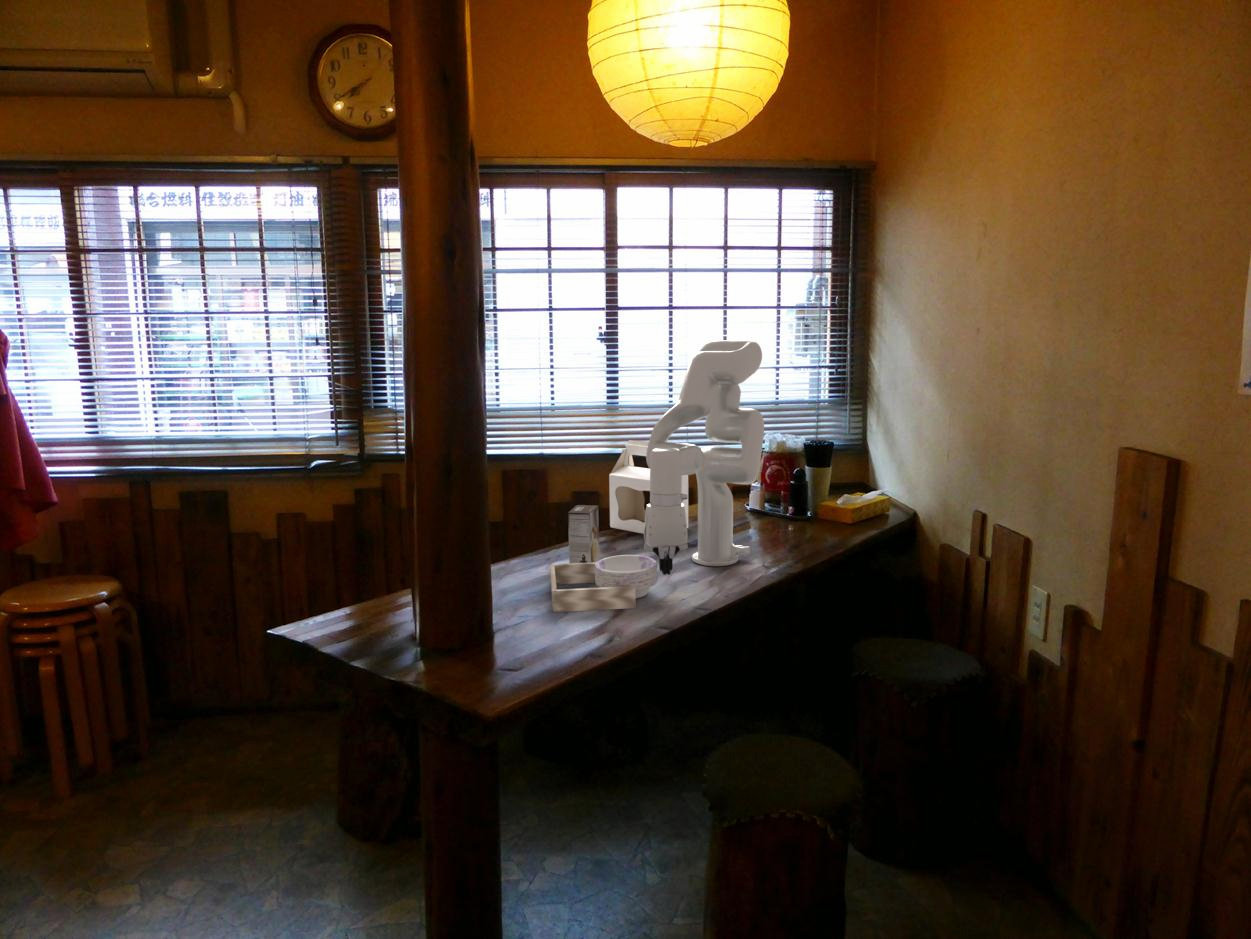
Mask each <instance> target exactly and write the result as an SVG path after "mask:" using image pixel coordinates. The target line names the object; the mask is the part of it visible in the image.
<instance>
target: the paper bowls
mask: <svg viewBox="0 0 1251 939" xmlns="http://www.w3.org/2000/svg"><path fill="white" fill-rule="evenodd" d="M594 567H595V585H596V586H597V588H602V587H622V586H635V600H636V599H639V598H643V597H645V596H646V595H647V594H648V593H649V591H650V588H652V587H654V586H655V585H656V584H657V583H658V579H659V577H658V575H659V574H658V562H657V561H656V559H654V558H653V557H649V556H646V555H642V554H641V555H639V554H620V555H619V554H618V555H613V556H609V557H608V556H607V557H604V558H601V559H600V560H599V561H598V562H596V564H595V566H594Z"/></svg>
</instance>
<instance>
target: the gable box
mask: <svg viewBox="0 0 1251 939" xmlns="http://www.w3.org/2000/svg"><path fill="white" fill-rule="evenodd" d="M648 444H649V441H645V440H644V441H643V440H632V439H629V440H628V441H627V443H624V446H625V448H621V453H620V455H619V457H618V458H617V461H616V462H615V464H614V466H613V467H612V469H611V471H610V473H609V475H608V476H609V477H608V478H609V479H608V480H609V481H608V483H609V489H608V490H609V526H610V528H612V529H617V530H622V531H628V532H631V533H632V532H633V533H638V534H641V535H642V534H643V535H644V523H645V522H642V521H645V512H646V508H645V502H646V501H645V500H646V499H645V495H644V491H646V492H650V468H649V467H641V466H635V463H634V459H633V456H640V457H641V456H642V457H646V453H647V448H648ZM682 493H683V494H687V496H688V498H687V499H685V500H683V501H682V503H683V504H684V507H685V512H686V521H687V528H688V529H689V475H682Z"/></svg>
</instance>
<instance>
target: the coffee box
mask: <svg viewBox="0 0 1251 939" xmlns="http://www.w3.org/2000/svg"><path fill="white" fill-rule="evenodd" d="M599 519H600V518H599V505H590V504H589V505H587V504H586V505H585V504H576V505H575V506H574V507H573V508H571V510H569V511H568V512H567V524H568V526H567V527H568V555H569V556H568V557H569V558H568V559H569V560H568V564H570V563H593V562H598V561H599V560H601V559H600V557H601V556H600V521H599Z"/></svg>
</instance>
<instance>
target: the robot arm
mask: <svg viewBox="0 0 1251 939" xmlns="http://www.w3.org/2000/svg"><path fill="white" fill-rule="evenodd" d="M762 359H763V352H762V348H761V346H760V344H759V343H757V342H756V341H754V340H748V339H747V340H745V339H744V340H738V339H737V340H731V339H729V340H728V339H727V340H724V339H723V340H722V339H721V340H719V339H717V340H715V339H714V340H709V341H705V342H703V343H701V345H700V346H699V348H698V352H697V353H694V355H692V356H691V358H690V359H689V363H688V366H687V369H686V373H685V375H684V379H683V380H684V381H683V383H682V386H681V390H680V394H679V398H678V401H677V402H676V404H675V405H674V406H672V407H671V408H669V409H668V410H667V411H666V412H665V413H664V414H663V415H662V416H661V417H660V419H659V420H657V422H656V423H655V425H654V427H653V429H652V431H651V434H650V436H649V437H650V438H649V441H648V442H649V444H648V448H647V453H646V456H645V459H646V464H647V466H648V468H650V491H649V494H650V495H649V502H650V503H648V504H646V507H645V511H646V512H645V523H644V534H643V539H644V545H643V549H644V551H647V552H650V553H654V554H655V555H657V556H658V561H659V562H658V563H659V564H658V565H659V571H661V573H662V574H663V575H664V576H666V575H671V571H673V567H674V566H673V560H674V558H675V556H676V555H677V554H678V553H679V552H681V551H684V550H687V549H689V546H688V529H687V521H686V512H685V507H684V504H683V503H682V501H683V500H685V499H687V498H688V499H689V495H688V496H687V494H683V493H682V475H688V476H692V475H695V476H696V477H695V478H696V482H697V551H696V552H694V553H693V554H692V555H691V556H692V557H691V559H692V561H693V563H695V564H698V565H703V566H708V567H725V566H730V565H733V564H736V563H737V562H738V561H739V554H750V553H751V552H750V551H751V548H750V546H744V545H743V544H740V545H738V544H737V545H735V543H733V541H734V539H733V538H734V534H733V530H734V496H733V494H732V491H731V489H730V487H729V486H728V484H735V485H752V484H754V483H755V482H756V481H757V479H758V477H759V474H760V469H761V460H762V454H763V445H764V444H763V443H764V436H765V420H764V417H763V414H762V413H761V412H760V411H758V409H756V408H750V407H749V408H747V407H740V402H741V396H742V395H741V393H742V390H741V387H740V385H739V384H743V383H744V382H745V381H746V380H748V379H749V378H750V377H751V376H753V375H754V374H755V373H756V372H757V371H758V370H759V369H760V366H761V363H762ZM704 418H705V425H704V426H705V428H704V433H705V435H706V437H707V439H709V440H710V441H712V442H718V443H728V444H729V443H730V444H741V448H739V447H729V446H715V445H714V446H712V445H711V446H710V445H709V446H706V447H705V446H704V447H702V448H701V447H700V446H698V445H696V444H691V443H684V442H683V443H680V442H672V441H671V442H668V441H669V439H670V437H671V436H672V435H673V433H675V432H676V431H678V429H680V428H682V427H684V426H687V425H689V424H692V423H694V422H696V421H699V420H701V419H704ZM664 547H667V552H666V555H665V550H664Z"/></svg>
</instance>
